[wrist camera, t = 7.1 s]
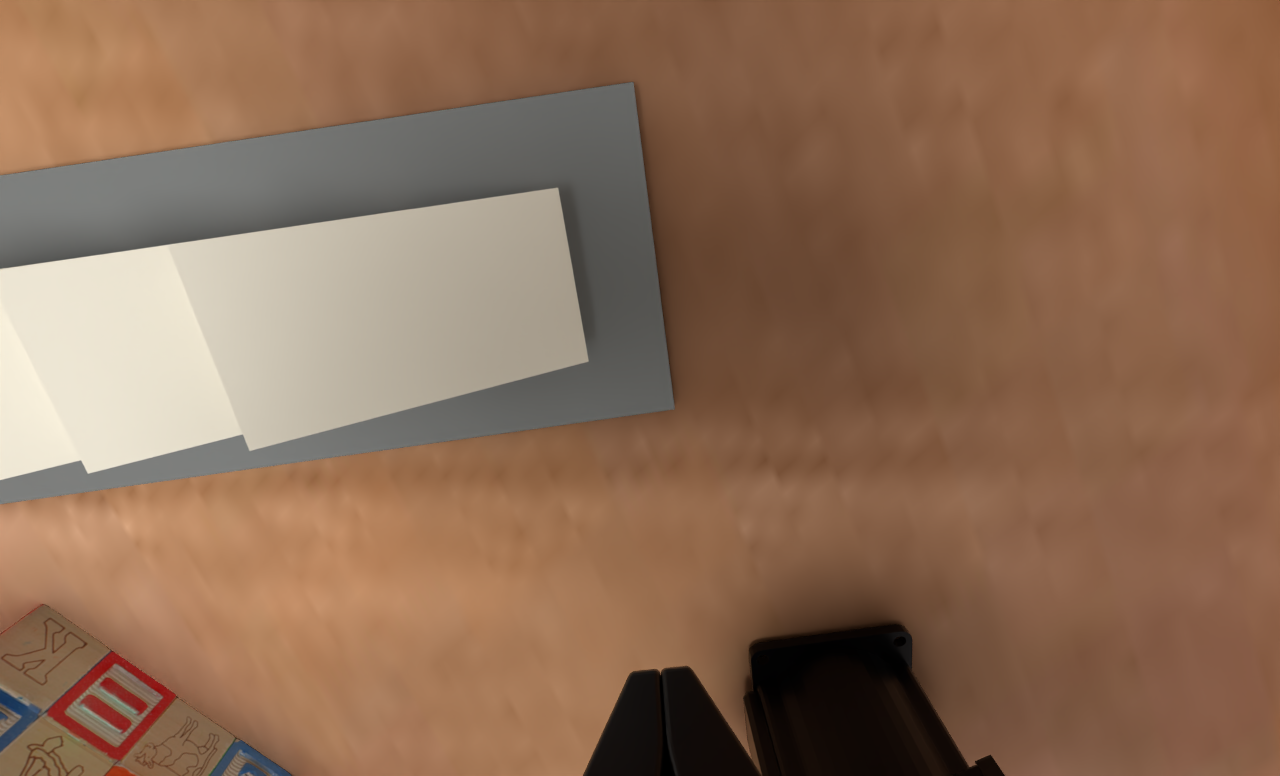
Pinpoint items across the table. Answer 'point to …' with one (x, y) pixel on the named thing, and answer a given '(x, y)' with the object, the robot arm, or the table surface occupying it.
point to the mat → (372, 184)
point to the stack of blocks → (101, 713)
